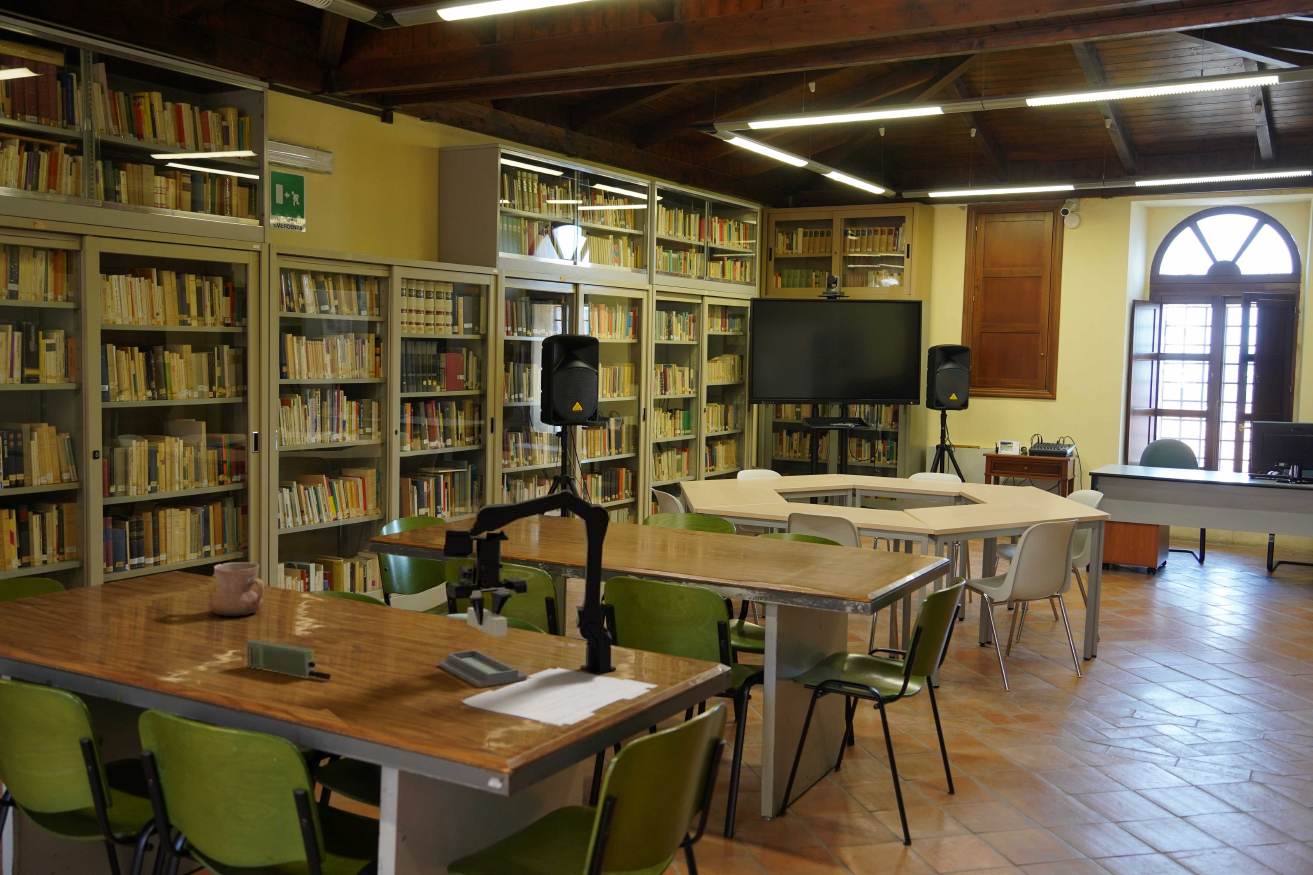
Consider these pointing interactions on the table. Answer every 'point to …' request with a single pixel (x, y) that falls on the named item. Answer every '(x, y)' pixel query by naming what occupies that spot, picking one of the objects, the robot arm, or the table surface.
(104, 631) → the table surface
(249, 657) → the handheld radio
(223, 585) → the pink mug
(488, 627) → the white long block
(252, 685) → the table surface
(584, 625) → the robot arm
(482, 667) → the grey rectangular tray
